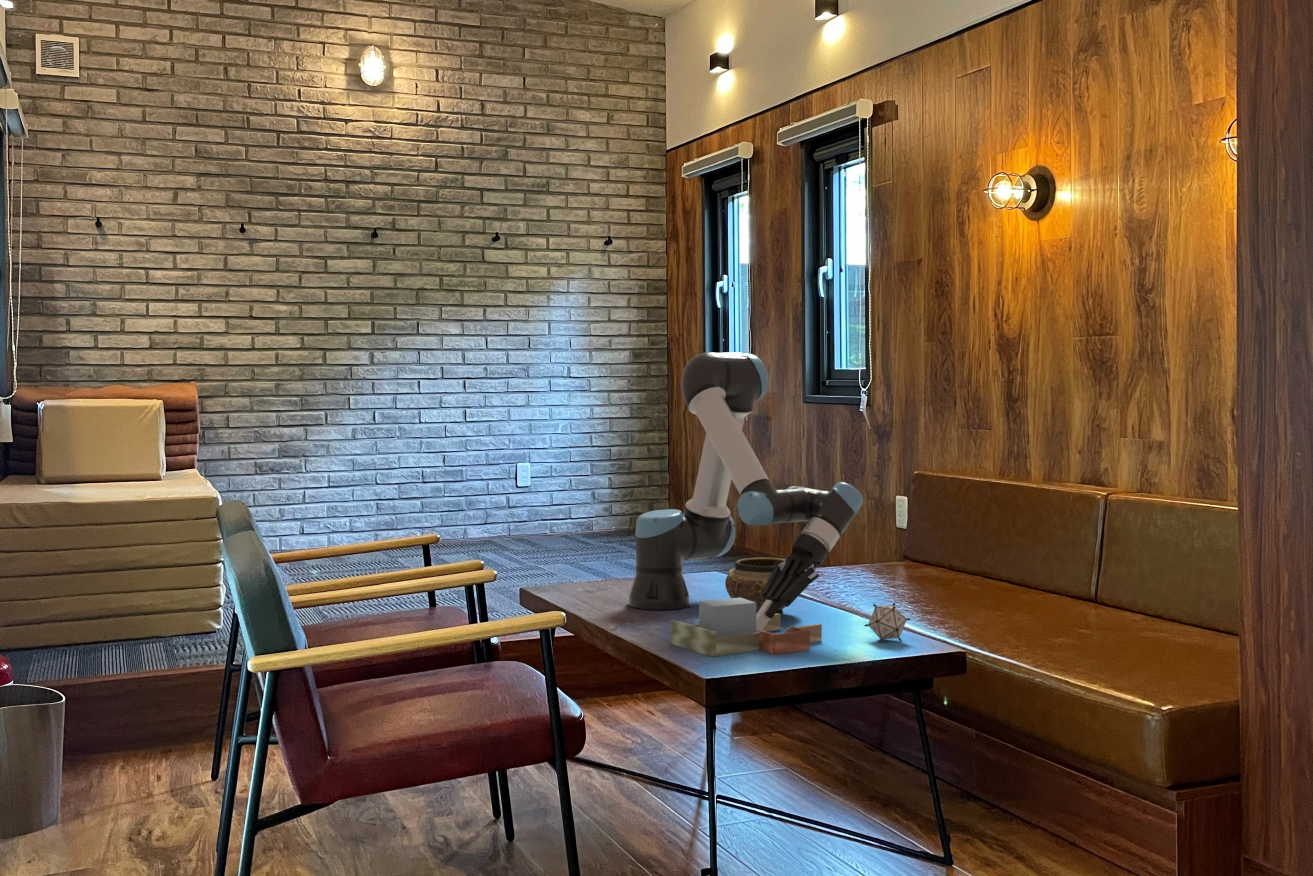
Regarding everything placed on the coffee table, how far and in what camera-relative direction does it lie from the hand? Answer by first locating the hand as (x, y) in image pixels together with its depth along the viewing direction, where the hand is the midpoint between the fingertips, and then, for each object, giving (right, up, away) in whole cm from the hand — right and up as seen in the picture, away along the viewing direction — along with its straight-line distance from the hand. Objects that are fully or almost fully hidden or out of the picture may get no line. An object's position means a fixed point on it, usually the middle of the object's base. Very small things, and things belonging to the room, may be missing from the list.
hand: (755, 627), depth 260 cm
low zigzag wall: (-2, -3, 0) cm, 3 cm away
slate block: (-6, -3, -2) cm, 7 cm away
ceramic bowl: (+4, -2, +32) cm, 32 cm away
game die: (+28, -3, +2) cm, 29 cm away
